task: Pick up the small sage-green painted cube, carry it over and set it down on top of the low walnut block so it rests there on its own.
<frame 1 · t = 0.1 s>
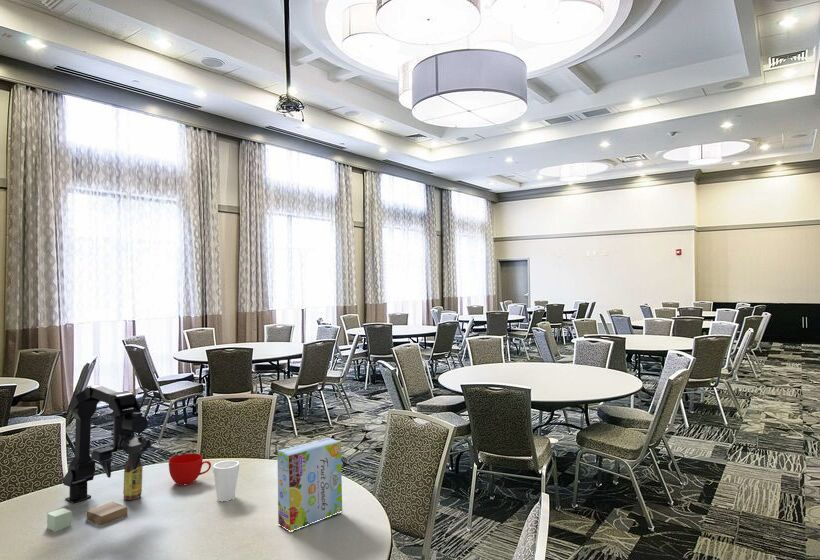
hand: (122, 473, 182), 15 cm above the table, tool pointing down, fingers open, 9 cm apart
foam cup: (226, 499, 196), on the table
sage cube: (59, 527, 172), on the table
sauce bottle: (132, 498, 197), on the table
snack box: (310, 520, 178), on the table
ceramic cup: (190, 483, 212), on the table
walnut block: (107, 518, 179), on the table
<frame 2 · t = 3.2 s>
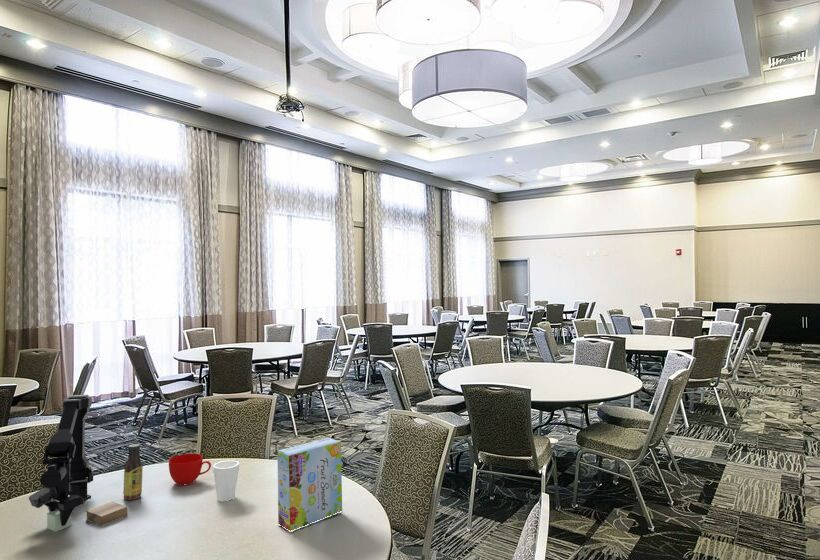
hand: (59, 523, 172), 1 cm above the table, tool pointing down, fingers closed on sage cube, 5 cm apart
sage cube: (59, 526, 172), on the table, touching gripper
everything else where it was.
when the fingers open (6 cm above the table, at t = 6.7 s): sage cube drops 2 cm, resting on walnut block.
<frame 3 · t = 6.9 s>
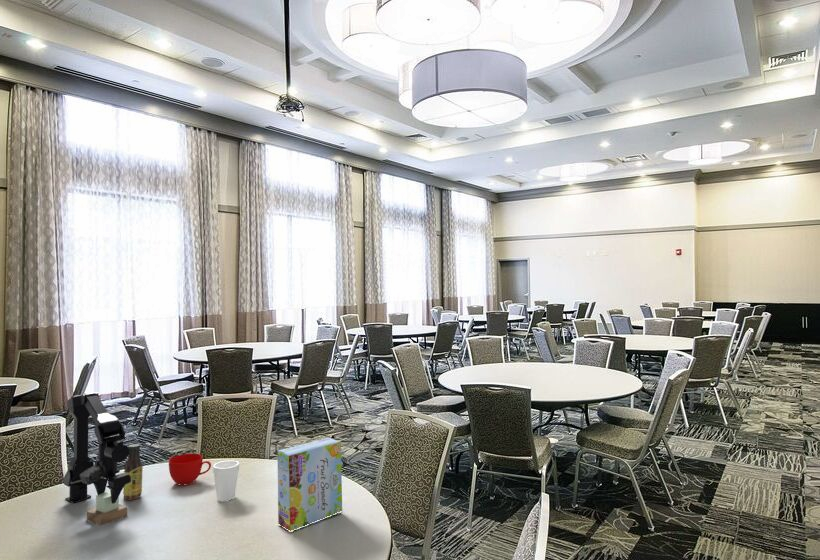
hand: (107, 500, 180), 6 cm above the table, tool pointing down, fingers open, 7 cm apart
sage cube: (107, 508, 179), point 3 cm above the table, touching walnut block
walnut block: (107, 519, 179), on the table, touching sage cube
everything else where it was.
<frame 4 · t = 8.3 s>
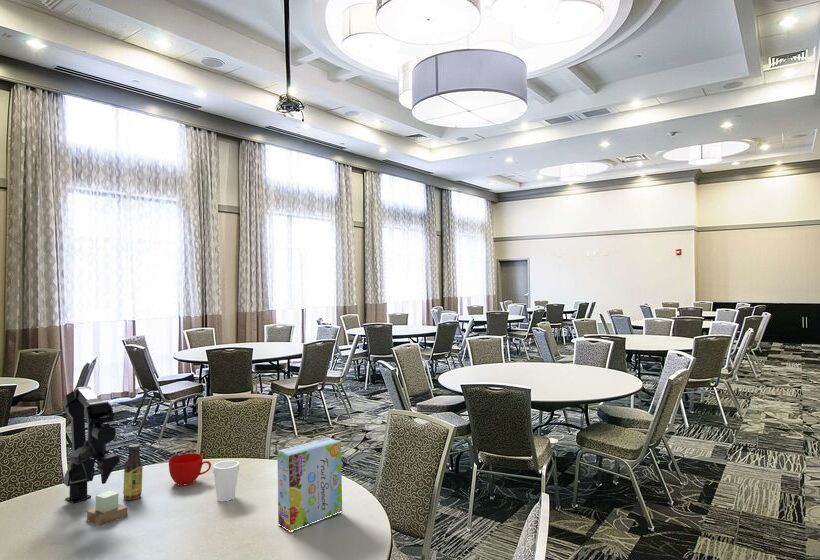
hand: (96, 480, 182), 12 cm above the table, tool pointing down, fingers open, 9 cm apart
nothing on the table moved.
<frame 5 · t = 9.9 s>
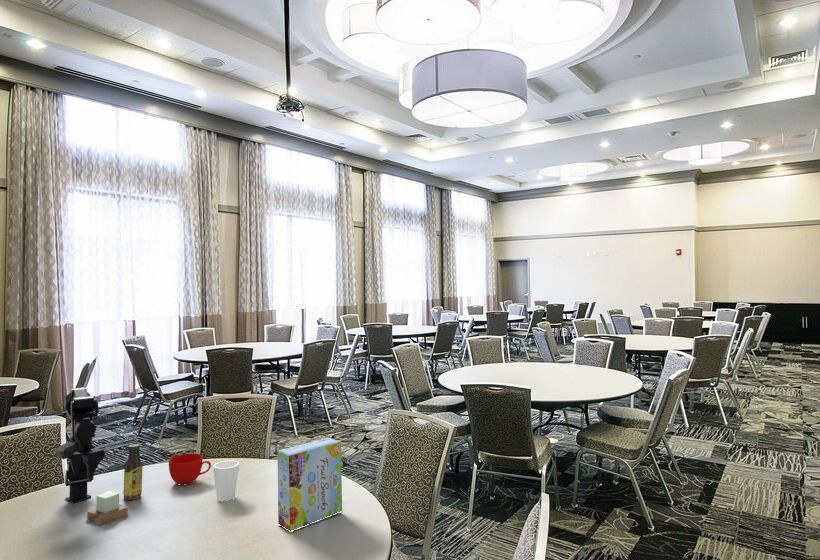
hand: (82, 475, 184), 13 cm above the table, tool pointing down, fingers open, 9 cm apart
nothing on the table moved.
at the end: sage cube 0.1 cm off-centre on the walnut block, point 3.5 cm above the walnut block's base; sage cube tilted 1°; the gripper is holding nothing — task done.
